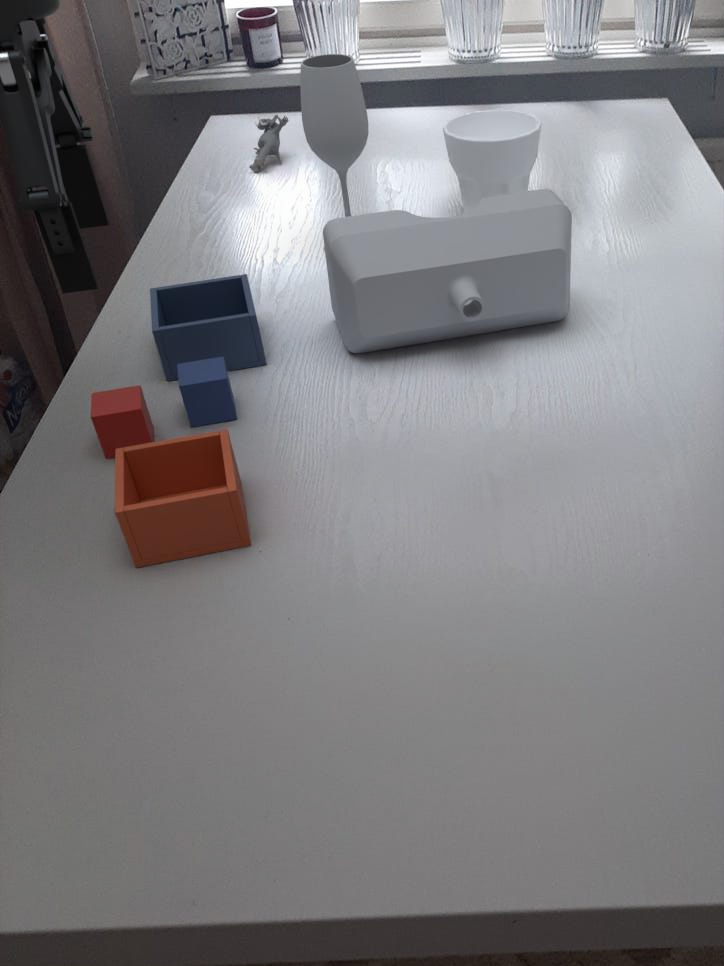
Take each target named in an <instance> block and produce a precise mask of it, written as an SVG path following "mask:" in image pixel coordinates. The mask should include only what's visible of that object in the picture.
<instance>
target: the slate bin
mask: <svg viewBox="0 0 724 966" xmlns="http://www.w3.org/2000/svg"><path fill="white" fill-rule="evenodd" d="M149 294H150V295H149V297H150V298H149V299H150V300H149V301H150V317H151V332H152V336H153V340H154V343H155V346H156V349H157V353H158V356H159V360H160V363H161V366H162V369H163V373H164V376H165V380H166V381H167V382H171V381H177V380H178V370H177V364H180V363H187V362H193V361H199V360H205V359H211V358H217V357H224V360H225V364H226V368H227V372H232V371H238V370H243V369H248V368H249V369H250V368H256V367H261V366H267V365H268V364H267V358H266V354H265V350H264V349H265V348H264V345H263V341H262V336H261V331H260V327H259V326H260V325H259V322H258V318H257V317H258V316H257V313H256V307H255V303H254V299H253V295H252V291H251V286H250V282H249V278H248V274H247V273H244V274H238V275H230V276H224V277H217V278H211V279H205V280H197V281H191V282H184V283H178V284H170V285H164V286H158V287H151V288H149Z"/></svg>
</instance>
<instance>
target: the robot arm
mask: <svg viewBox="0 0 724 966" xmlns="http://www.w3.org/2000/svg"><path fill="white" fill-rule="evenodd" d="M60 3H61V0H0V121H1V126H2V130H3V134H4V138H5V141H6V145H7V149H8V152H9V153H8V154H9V157H10V161H11V165H12V168H13V173H14V177H15V180H16V184H17V188H18V191H19V195H20V199H17V200H16V202H17V206H18V208H19V210H20V212H21V213H27V212H32V213H33V215H34V217H35V221H36V223H37V226H38V228H39V231H40V234H41V237H42V240H43V243H44V245H45V248H46V251H47V253H48V256H49V258H50V262H51V264H52V267H53V269H54V273H55V276H56V278H57V283H58V284H59V287H60V290H61V293H62V294H70V293H78V292H86V291H93V290H98V289H99V282H98V279H97V276H96V273H95V270H94V267H93V264H92V261H91V258H90V254H89V252H88V249H87V246H86V243H85V239H84V237H83V234H82V231H81V230H82V229H90V228H97V227H98V228H99V227H107V226H109V225H110V219H109V215H108V211H107V208H106V205H105V202H104V200H103V197H102V196H103V195H102V192H101V190H100V185H99V183H98V181H97V177H96V173H95V170H94V165H93V164H92V160H91V157H90V154H89V151H88V147H87V144H86V143H87V142H93V141H94V136H93V131H92V128H91V126H84V123H85V122H84V117H83V116H82V115H81V112H80V109H79V108H78V104H77V102H76V100H75V97H74V95H73V91H72V90H71V87H70V85H69V82H68V79H67V77H66V75H65V73H64V69H63V67H62V65H61V62H60V59H59V56H58V53H57V52H56V50H55V46H54V44H53V42H52V39H51V36H50V32H49V30H48V27H47V23H46V22H47V21H46V18H47V17H50V16H51V15H53V14H54V13H56V12H57V11H58V9H59V8H60V5H61V4H60ZM81 143H85V144H81ZM58 145H59V146H60V147H57V146H58ZM40 187H45V189H44V188H43V189H38V188H40Z"/></svg>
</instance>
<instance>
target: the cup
mask: <svg viewBox="0 0 724 966" xmlns="http://www.w3.org/2000/svg"><path fill="white" fill-rule="evenodd" d="M541 130H542V121H541V120H540V119H539V117H538V116H536V115H534V114H531V113H529V112H526V111H519V110H513V109H485V110H477V111H471V112H467V113H462V114H459V115H456V116H454V117H452V118H450V119H448V120H446V122H445V124H444V125H443V127H442V131H443V136H444V141H445V147H446V152H447V158H448V162H449V164H450V166H451V167H452V169H453V171H454V173H455V175H456V177H457V182H458V186H459V190H460V194H461V199H462V205H463V207H462V211H463V212H462V214H465V213H467V212H470V211H472V210H474V209H475V208H476V207H477V206H478V205H479V203H480V201H481V200H482V199H484V198H486V197H491V196H498V195H505V194H512V193H519V192H526V191H529V184H530V176H531V172H532V170H533V168H534V166H535V163H536V161H537V158H538V155H539V153H538V152H539V145H540V139H541V138H540V137H541Z"/></svg>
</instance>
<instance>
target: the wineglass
mask: <svg viewBox="0 0 724 966" xmlns="http://www.w3.org/2000/svg"><path fill="white" fill-rule="evenodd" d="M299 74H300V78H299V79H300V81H299V83H300V88H299V89H300V91H299V92H300V111H301V122H302V128H303V129H302V130H303V132H304V136H305V140H306V143H307V144H308V146H309V148H310V150H311V151H312V152H313V154H314V155H316V156H317V158H318V159H320V161H322V162H324V163H325V164H326V165H327V166H329V167H330V168H331V169H333V170H334V171H335V172H336V174H337V175H338V179H339V182H340V188H341V195H342V202H343V208H344V217H349V216H352V213H351V205H350V197H349V191H348V183H347V179H348V177H347V175H348V171H349V169H350V168H351V167H352V166H353V165H354V163H355V162H356V161H357V160H358V159H359V158H360V156H361V154H362V153H363V151H364V149H365V148H366V146H367V142H368V137H369V118H368V116H369V115H368V111H367V106H366V102H365V97H364V93H363V92H364V91H363V88H362V85H361V81H360V77H359V73H358V69H357V67H356V64H355V61H354V58H353V56H351V55H347V54H341V53H328V54H327V53H326V54H319V55H314V56H310V57H307V58H305V59H303V60H301V62H300V73H299ZM323 251H324V252H325V247H324V246H323Z"/></svg>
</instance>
